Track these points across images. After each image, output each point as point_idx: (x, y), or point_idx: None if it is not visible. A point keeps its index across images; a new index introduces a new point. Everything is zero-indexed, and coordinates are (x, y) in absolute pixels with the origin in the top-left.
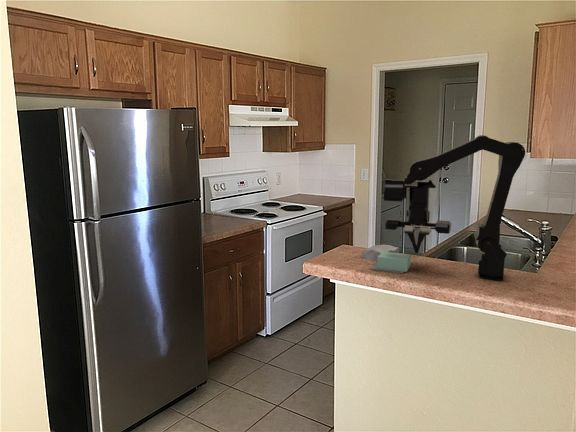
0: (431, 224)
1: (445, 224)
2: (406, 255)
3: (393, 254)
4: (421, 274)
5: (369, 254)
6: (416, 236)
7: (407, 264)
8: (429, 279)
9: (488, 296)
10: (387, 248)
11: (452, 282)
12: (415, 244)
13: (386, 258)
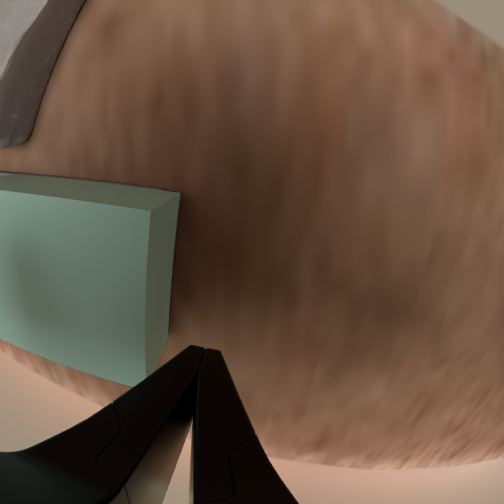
0: None
1: None
2: (114, 256)
3: (23, 250)
4: (259, 342)
5: None
6: (131, 487)
7: (156, 347)
8: (297, 404)
9: (442, 464)
10: (2, 17)
11: (394, 409)
12: (170, 474)
13: (23, 346)
